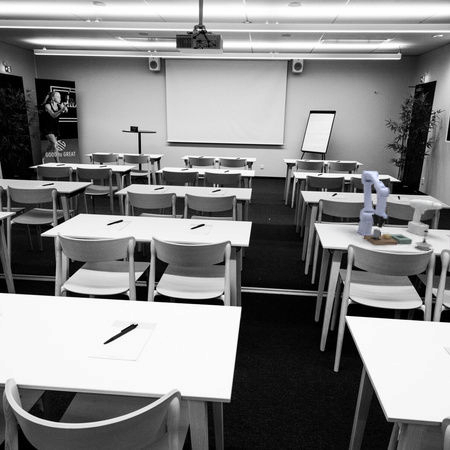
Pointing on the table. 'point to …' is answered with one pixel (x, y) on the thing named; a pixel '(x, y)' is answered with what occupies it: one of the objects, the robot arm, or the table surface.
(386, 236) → the release key
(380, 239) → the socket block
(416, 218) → the power drill
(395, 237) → the rack
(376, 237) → the steel peg
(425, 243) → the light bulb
